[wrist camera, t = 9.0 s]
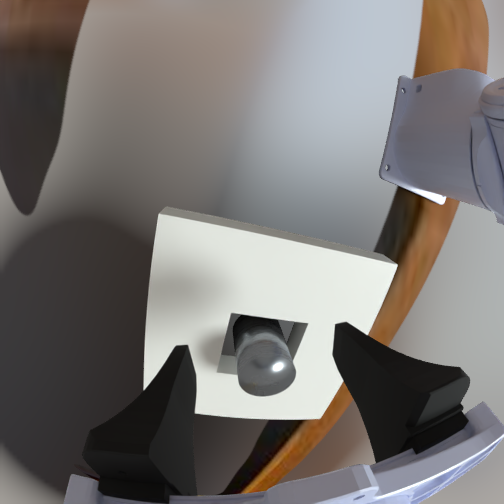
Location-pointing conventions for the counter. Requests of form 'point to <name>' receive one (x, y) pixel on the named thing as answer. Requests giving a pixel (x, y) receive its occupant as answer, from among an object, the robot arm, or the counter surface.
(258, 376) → the pin
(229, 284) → the socket block
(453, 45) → the counter surface
